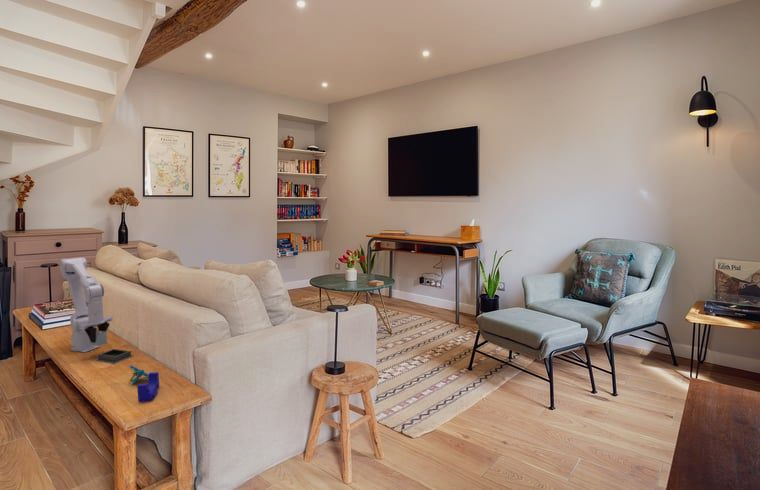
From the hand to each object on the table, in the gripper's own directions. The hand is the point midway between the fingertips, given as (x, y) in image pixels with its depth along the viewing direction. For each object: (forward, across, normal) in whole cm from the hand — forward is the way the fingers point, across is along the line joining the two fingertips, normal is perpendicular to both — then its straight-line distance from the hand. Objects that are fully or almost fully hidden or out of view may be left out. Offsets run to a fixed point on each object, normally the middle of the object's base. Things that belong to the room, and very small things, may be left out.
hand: (97, 340), depth 201 cm
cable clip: (+7, -23, -54) cm, 59 cm away
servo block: (+2, 0, 0) cm, 2 cm away
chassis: (+7, 0, -10) cm, 12 cm away
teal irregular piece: (+7, -15, -41) cm, 44 cm away
